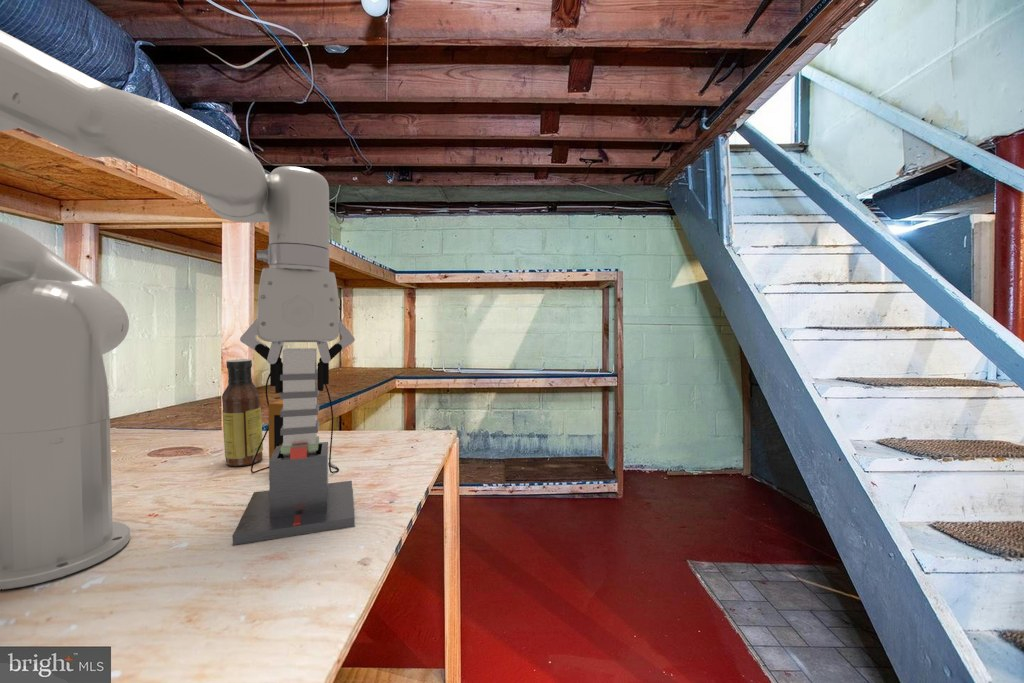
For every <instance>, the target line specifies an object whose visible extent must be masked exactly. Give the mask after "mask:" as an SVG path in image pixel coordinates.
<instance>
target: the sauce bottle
mask: <svg viewBox="0 0 1024 683" xmlns="http://www.w3.org/2000/svg"><path fill="white" fill-rule="evenodd" d="M252 367H253V362H252V359H250V358H249V359H248V358H247V359H246V358H244V359H243V358H242V359H241V358H238V359H230V360H229V359H228V360H227V361H226V369H227V374H228V375H227V376H228V380H227V386H226V388H225V389H224V391H223V393H222V395H221V400H222V401H221V402H222V414H221V415H222V428H223V443H224V445H223V447H224V457H225V462H226V464H227V465H228V466H230V467H241V466H244V467H245V466H249V465H252V462H253V460H254V457H255V455H256V452H257V450H258V448H259V445H260V443H261V441H262V439H263V424H262V423H263V421H262V419H263V418H262V407H261V402H260V401H261V400H260V398H261V397H260V391H259V390H258V388H257V387H256V385H255V384H254V382H253V378H252ZM263 450H264V443H262V445H261V447H260V449H259V451H258V454H257V456H256V459H255V461H254V464H256V463H258V462H260V461H262V459H263V456H264V455H263V454H264V453H263Z"/></svg>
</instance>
